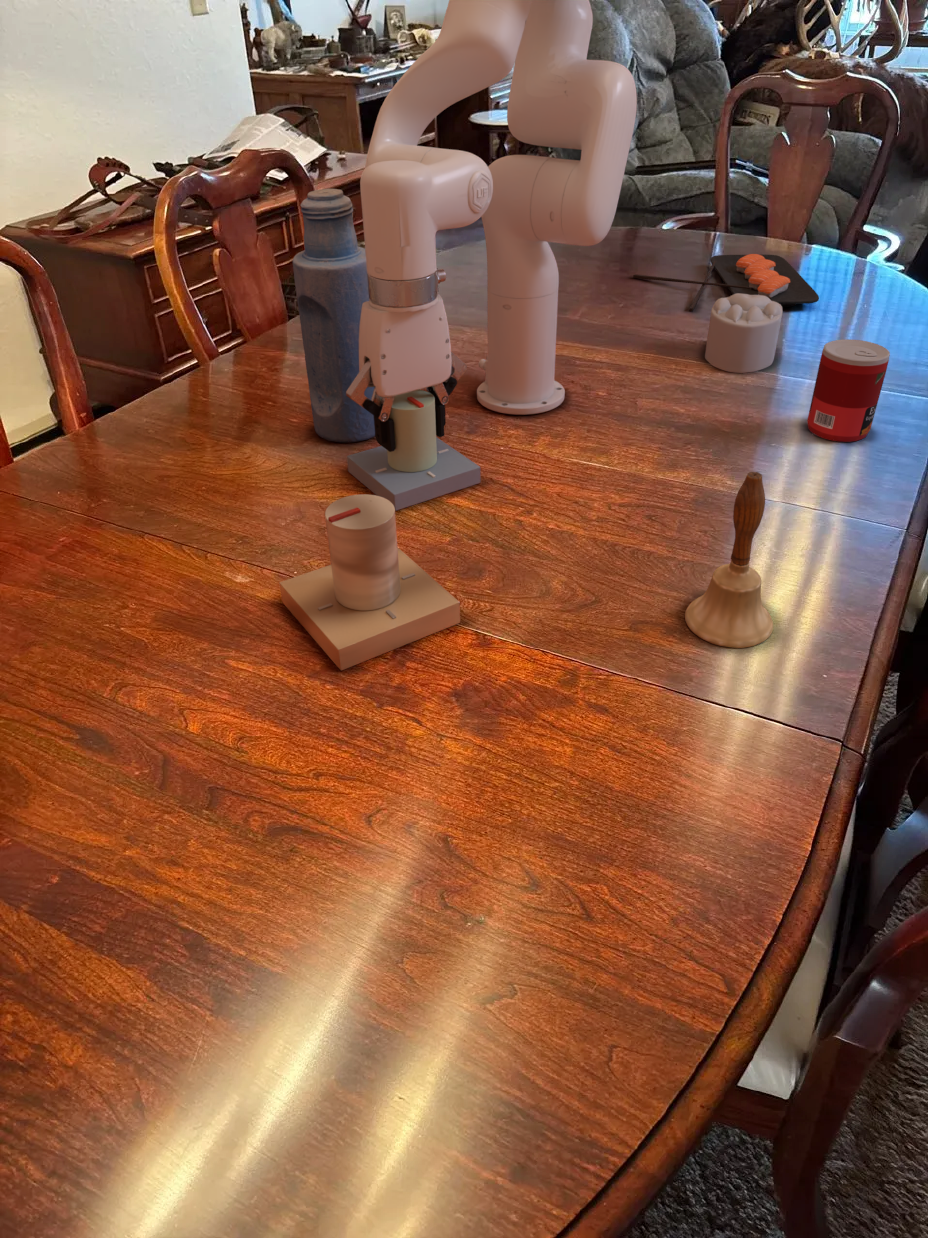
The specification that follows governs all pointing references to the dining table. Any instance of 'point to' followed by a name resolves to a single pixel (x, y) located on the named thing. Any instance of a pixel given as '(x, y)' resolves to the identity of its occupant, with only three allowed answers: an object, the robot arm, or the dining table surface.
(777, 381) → the dining table surface
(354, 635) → the birch turntable
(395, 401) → the green dial knob
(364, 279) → the bottle
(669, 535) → the dining table surface
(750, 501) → the hand bell
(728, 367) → the lumpy-topped squat cylinder
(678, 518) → the dining table surface
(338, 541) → the beige banded cylinder
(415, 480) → the blue-grey dial base
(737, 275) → the sushi plate
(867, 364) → the canned food
